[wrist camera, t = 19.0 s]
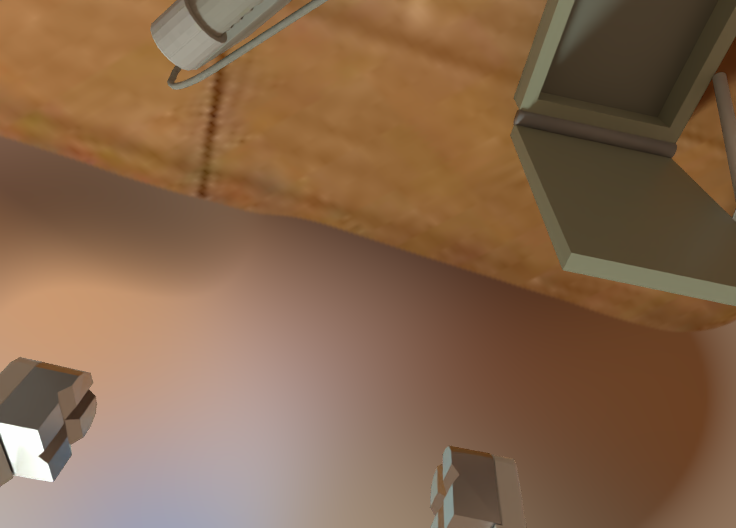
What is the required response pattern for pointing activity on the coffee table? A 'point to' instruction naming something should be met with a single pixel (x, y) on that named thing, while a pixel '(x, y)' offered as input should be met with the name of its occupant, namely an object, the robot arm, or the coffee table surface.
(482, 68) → the coffee table surface
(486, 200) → the coffee table surface
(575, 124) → the equipment case
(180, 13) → the geiger counter
